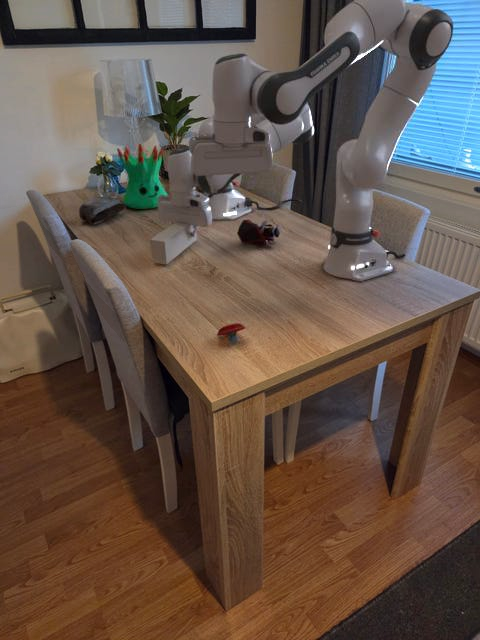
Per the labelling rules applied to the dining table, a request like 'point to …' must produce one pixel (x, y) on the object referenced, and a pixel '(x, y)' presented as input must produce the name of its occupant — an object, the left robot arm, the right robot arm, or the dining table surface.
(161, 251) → the bar
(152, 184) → the toy
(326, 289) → the dining table surface
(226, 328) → the red mushroom
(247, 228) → the toy
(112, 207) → the rock
